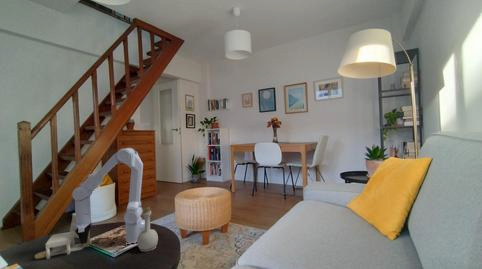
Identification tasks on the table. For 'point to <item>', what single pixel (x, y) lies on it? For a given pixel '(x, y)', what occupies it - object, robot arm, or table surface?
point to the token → (40, 255)
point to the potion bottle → (147, 234)
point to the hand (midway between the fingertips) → (84, 242)
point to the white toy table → (60, 242)
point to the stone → (74, 226)
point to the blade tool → (72, 247)
